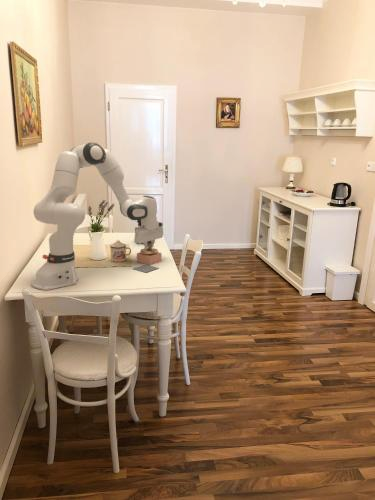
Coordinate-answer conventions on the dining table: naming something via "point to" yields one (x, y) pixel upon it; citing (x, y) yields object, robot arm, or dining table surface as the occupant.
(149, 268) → the mat
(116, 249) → the teacup with lid
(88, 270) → the dining table surface
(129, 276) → the dining table surface
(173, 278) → the dining table surface
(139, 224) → the brown wooden box
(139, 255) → the pink hollow square box
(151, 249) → the lid
